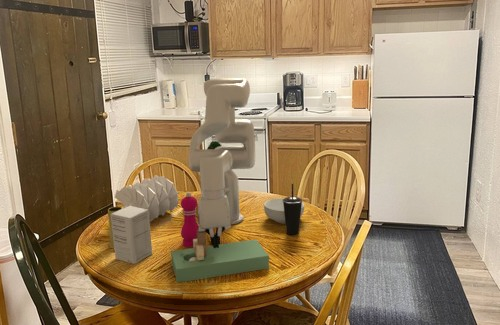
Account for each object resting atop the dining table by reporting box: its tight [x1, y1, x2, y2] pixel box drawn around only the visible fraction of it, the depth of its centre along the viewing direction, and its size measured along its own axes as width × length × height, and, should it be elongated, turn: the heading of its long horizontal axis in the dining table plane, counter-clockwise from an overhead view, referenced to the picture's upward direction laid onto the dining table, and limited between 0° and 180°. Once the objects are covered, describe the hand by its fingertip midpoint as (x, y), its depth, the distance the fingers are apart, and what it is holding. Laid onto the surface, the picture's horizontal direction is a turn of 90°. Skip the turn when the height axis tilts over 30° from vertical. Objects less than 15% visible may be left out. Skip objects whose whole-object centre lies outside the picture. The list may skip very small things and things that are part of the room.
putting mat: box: [170, 239, 270, 284], centre depth 155 cm, size 14×30×4 cm, turn 106°
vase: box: [107, 206, 123, 249], centre depth 173 cm, size 6×6×14 cm
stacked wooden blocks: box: [193, 230, 208, 260], centre depth 152 cm, size 8×3×8 cm, turn 16°
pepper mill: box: [180, 192, 199, 248], centre depth 171 cm, size 7×7×20 cm
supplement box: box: [111, 206, 153, 265], centre depth 162 cm, size 10×9×17 cm
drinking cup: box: [283, 183, 304, 237], centre depth 179 cm, size 8×8×20 cm
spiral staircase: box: [114, 174, 180, 223], centre depth 199 cm, size 18×18×25 cm
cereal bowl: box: [263, 197, 305, 224], centre depth 195 cm, size 17×17×7 cm
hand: (215, 246), depth 154 cm, fingers closed
